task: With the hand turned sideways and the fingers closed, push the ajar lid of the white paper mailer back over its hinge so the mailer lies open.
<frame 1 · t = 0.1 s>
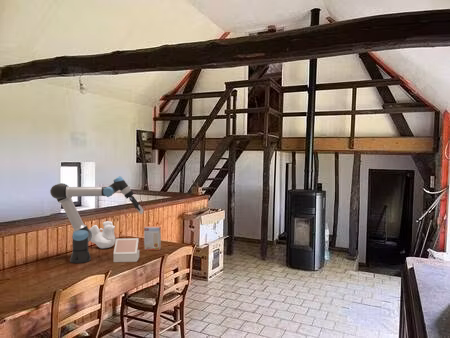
hand: (142, 212, 300), 36 cm above the table, tool tilted 35°, fingers open, 13 cm apart
mailer lid: (126, 246, 280), point 11 cm above the table, hinge at 45.0°
decorative rooster: (102, 247, 323), on the table
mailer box: (126, 259, 282), on the table
cracker box: (152, 249, 315), on the table
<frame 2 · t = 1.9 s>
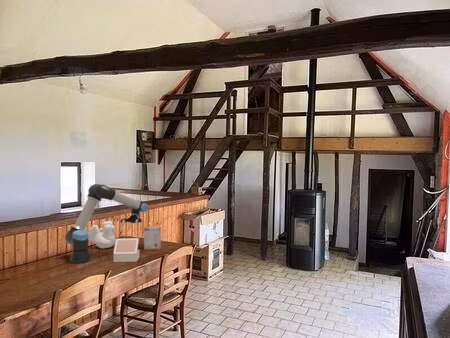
hand: (129, 222, 294), 28 cm above the table, tool horizontal, fingers open, 10 cm apart
nothing on the table moved.
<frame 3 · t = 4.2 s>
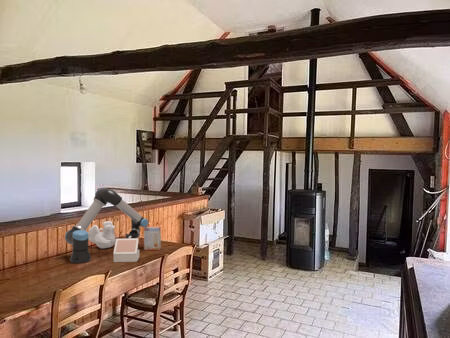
hand: (129, 239, 293), 14 cm above the table, tool horizontal, fingers closed
cracker box: (152, 249, 315), on the table, touching arm
everything else where it was.
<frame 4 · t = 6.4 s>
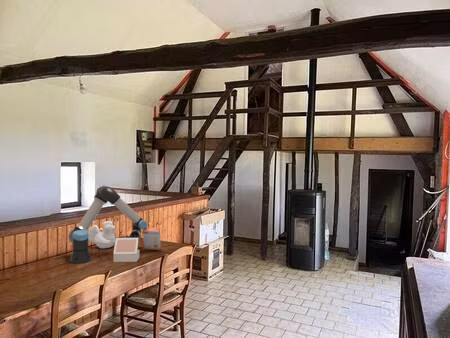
hand: (130, 241, 284), 15 cm above the table, tool horizontal, fingers closed
mailer lid: (126, 245, 280), point 12 cm above the table, hinge at 49.1°, touching gripper
cracker box: (152, 248, 315), point 2 cm above the table, touching arm
everything else where it was.
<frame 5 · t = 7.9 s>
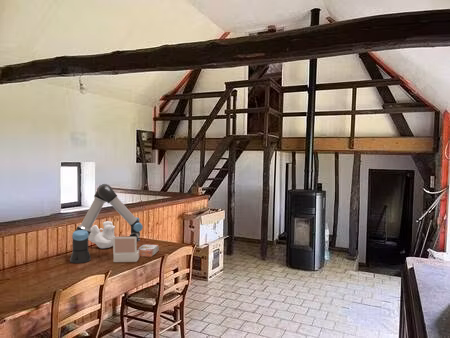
hand: (129, 244, 275), 14 cm above the table, tool horizontal, fingers closed
mailer lid: (124, 245, 274), point 13 cm above the table, hinge at 96.1°, touching gripper
cracker box: (151, 247, 312), point 3 cm above the table
everything else where it was.
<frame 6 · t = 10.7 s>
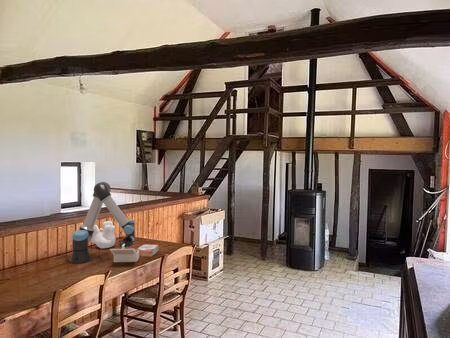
hand: (122, 247, 265), 14 cm above the table, tool horizontal, fingers closed
mailer lid: (123, 251, 269), point 10 cm above the table, hinge at 149.6°, touching gripper
everything else where it was.
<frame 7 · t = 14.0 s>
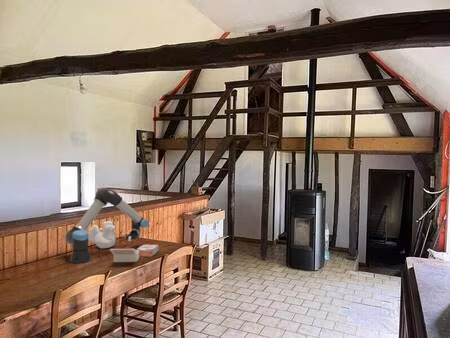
hand: (129, 239, 292), 14 cm above the table, tool horizontal, fingers closed
mailer lid: (123, 251, 269), point 10 cm above the table, hinge at 149.7°
everything else where it was.
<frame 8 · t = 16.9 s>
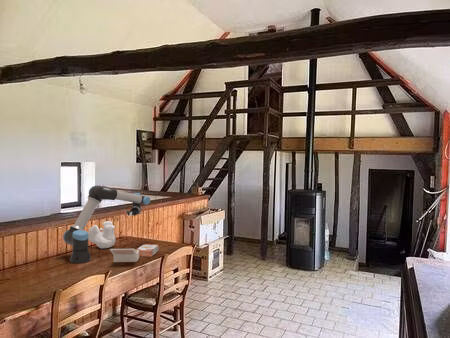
hand: (130, 214, 298), 34 cm above the table, tool horizontal, fingers closed
nothing on the table moved.
at the end: mailer lid at +150° (first picture: +45°) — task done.
